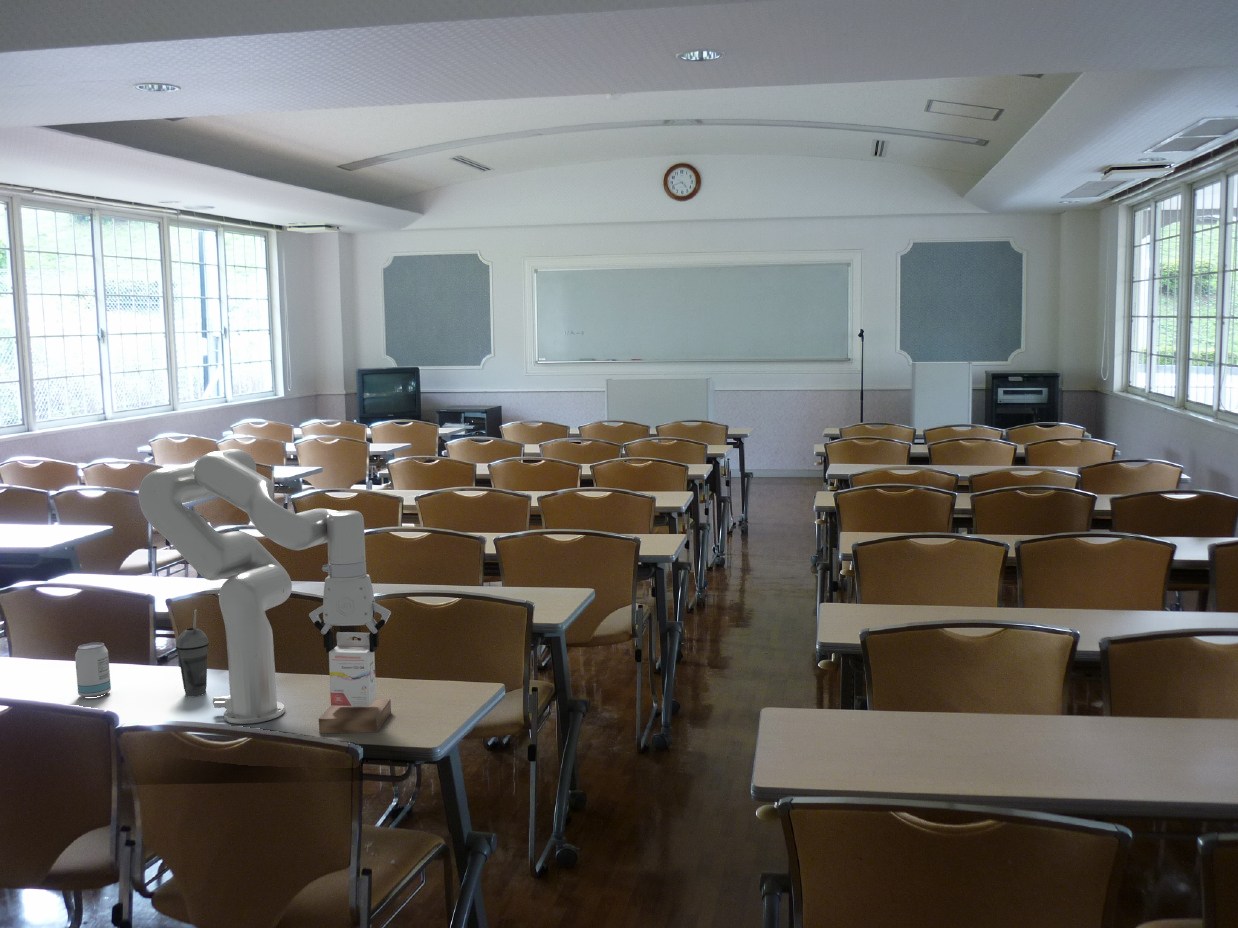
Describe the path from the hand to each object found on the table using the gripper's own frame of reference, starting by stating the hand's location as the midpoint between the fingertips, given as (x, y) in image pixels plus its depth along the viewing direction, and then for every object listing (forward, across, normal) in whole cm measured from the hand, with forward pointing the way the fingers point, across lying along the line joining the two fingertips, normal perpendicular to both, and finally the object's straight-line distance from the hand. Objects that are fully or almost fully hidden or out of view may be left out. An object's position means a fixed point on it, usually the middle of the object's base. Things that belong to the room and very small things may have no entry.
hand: (351, 650), depth 222 cm
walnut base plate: (+16, 0, 0) cm, 16 cm away
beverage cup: (+16, -44, +22) cm, 52 cm away
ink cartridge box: (+11, 0, 0) cm, 11 cm away
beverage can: (+16, -68, +22) cm, 73 cm away
